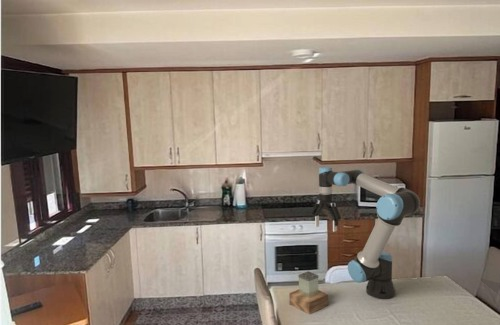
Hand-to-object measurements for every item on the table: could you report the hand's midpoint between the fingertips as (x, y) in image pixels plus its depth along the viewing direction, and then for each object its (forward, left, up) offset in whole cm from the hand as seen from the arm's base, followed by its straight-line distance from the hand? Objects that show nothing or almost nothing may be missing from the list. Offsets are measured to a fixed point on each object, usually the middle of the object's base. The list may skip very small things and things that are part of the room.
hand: (325, 228), depth 220 cm
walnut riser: (-14, +30, -32) cm, 46 cm away
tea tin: (-14, +30, -26) cm, 42 cm away
